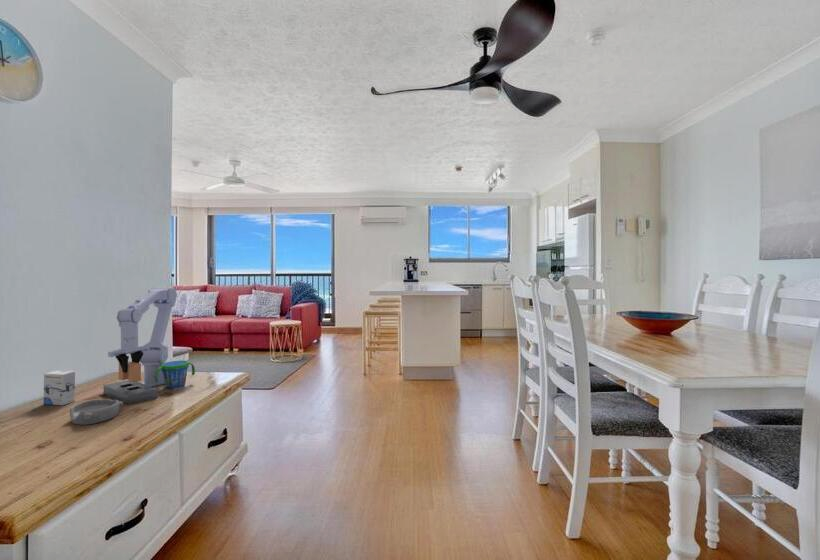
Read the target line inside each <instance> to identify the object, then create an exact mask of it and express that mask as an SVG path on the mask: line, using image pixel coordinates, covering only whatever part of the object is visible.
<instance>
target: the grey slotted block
mask: <svg viewBox="0 0 820 560" xmlns="http://www.w3.org/2000/svg"><path fill="white" fill-rule="evenodd" d="M142 383H143V382H140V381H137V382H128V379H126V380H121V381H118V382H112V383H108V384H103V394H104V395H106V396H108V397H111V398H112V399H114V400H118V401H119V402H120V401H122V402H123V404H126V405H133V404H137V403H141V402H147V401H149V400H153V399H157V398H158V388H156V387H154V386H151V387H150V386H148V385H145V384H142Z"/></svg>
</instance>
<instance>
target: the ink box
mask: <svg viewBox="0 0 820 560" xmlns="http://www.w3.org/2000/svg"><path fill="white" fill-rule="evenodd" d="M75 385H76V372H75V371H74V370H53V371H50V372H46V373H43V405H51V406H52V405H55V406H65V405H68V404H70V403H74V402H76V401H75V399H76V398H75V396H76V395H75V387H76V386H75Z"/></svg>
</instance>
